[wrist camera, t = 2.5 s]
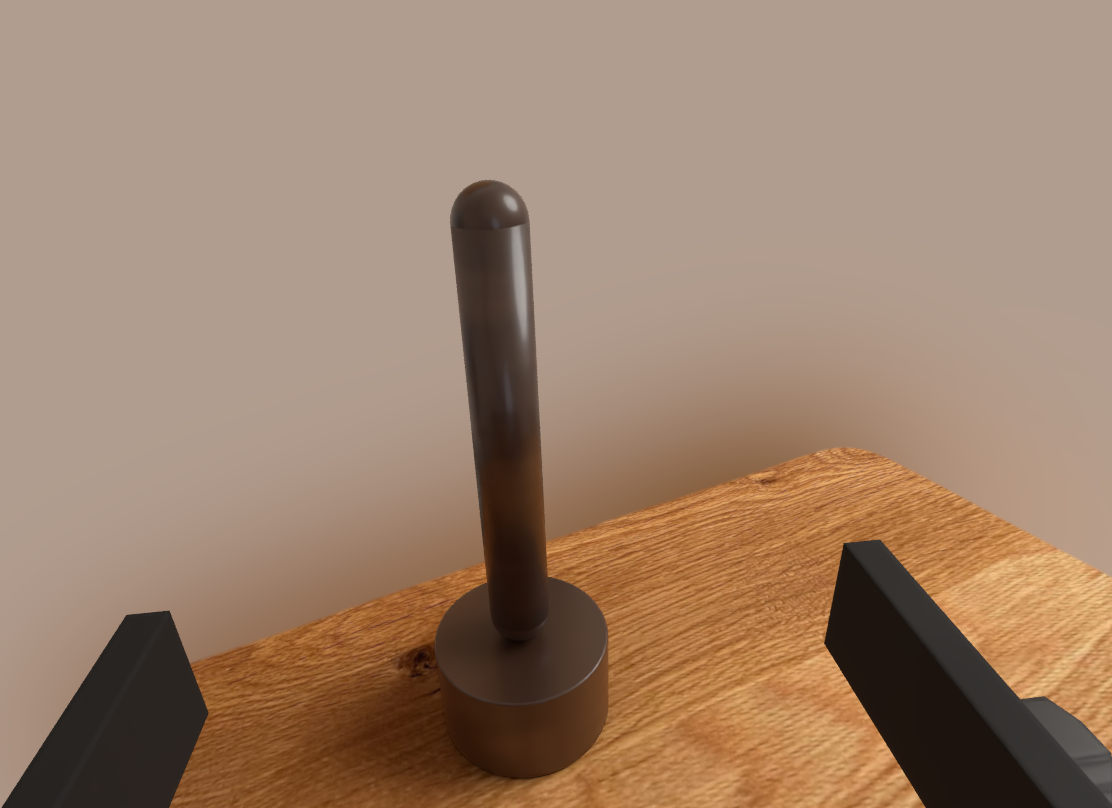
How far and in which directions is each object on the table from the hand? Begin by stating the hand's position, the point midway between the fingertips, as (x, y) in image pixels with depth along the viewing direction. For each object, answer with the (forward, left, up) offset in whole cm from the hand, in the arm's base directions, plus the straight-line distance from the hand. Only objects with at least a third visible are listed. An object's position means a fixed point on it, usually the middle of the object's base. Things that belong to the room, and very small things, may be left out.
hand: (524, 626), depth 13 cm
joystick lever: (-2, +7, -11) cm, 13 cm away
